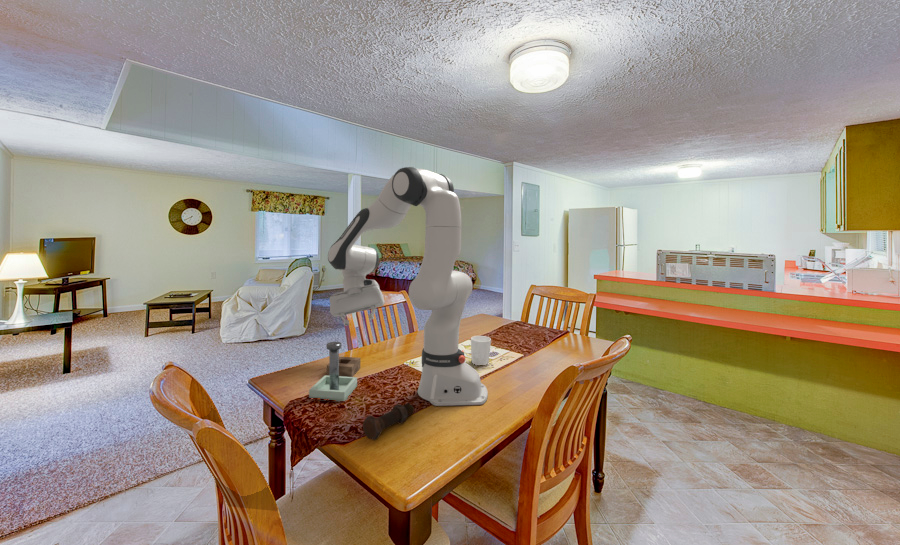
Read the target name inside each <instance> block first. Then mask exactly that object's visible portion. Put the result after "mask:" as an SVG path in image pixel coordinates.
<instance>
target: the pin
mask: <svg viewBox="0 0 900 545" xmlns="http://www.w3.org/2000/svg"><path fill="white" fill-rule="evenodd" d="M340 349H342V342H339V341H330V342H327V343H326V350H329V352H328V353H329V355H328V357H329V358H328V359H329V363H328V364H329V376H330V390H339V357H340V355H339V353H340V352H339V351H340Z"/></svg>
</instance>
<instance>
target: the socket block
mask: <svg viewBox="0 0 900 545" xmlns="http://www.w3.org/2000/svg"><path fill="white" fill-rule="evenodd" d="M360 369H361V357H352V356H339V376H344V377H355V375H357V374H356V373H357V372H358V371H359V370H360ZM326 375H328V376H329V363H328V364H326Z"/></svg>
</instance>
